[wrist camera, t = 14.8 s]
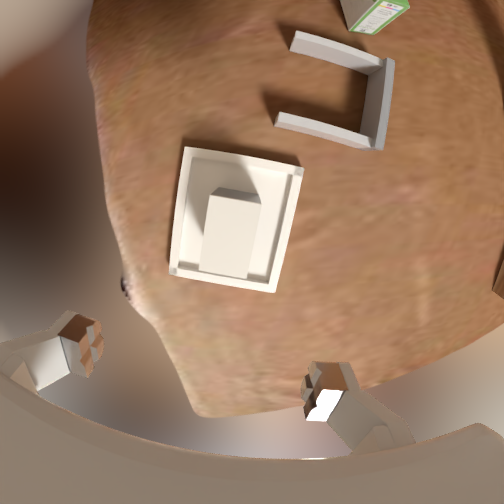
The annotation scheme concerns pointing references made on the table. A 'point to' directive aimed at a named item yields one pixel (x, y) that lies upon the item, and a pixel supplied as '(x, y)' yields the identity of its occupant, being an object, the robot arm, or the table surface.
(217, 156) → the tray
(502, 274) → the crate
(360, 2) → the ink box
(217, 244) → the upright white block
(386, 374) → the table surface
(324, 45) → the bay
